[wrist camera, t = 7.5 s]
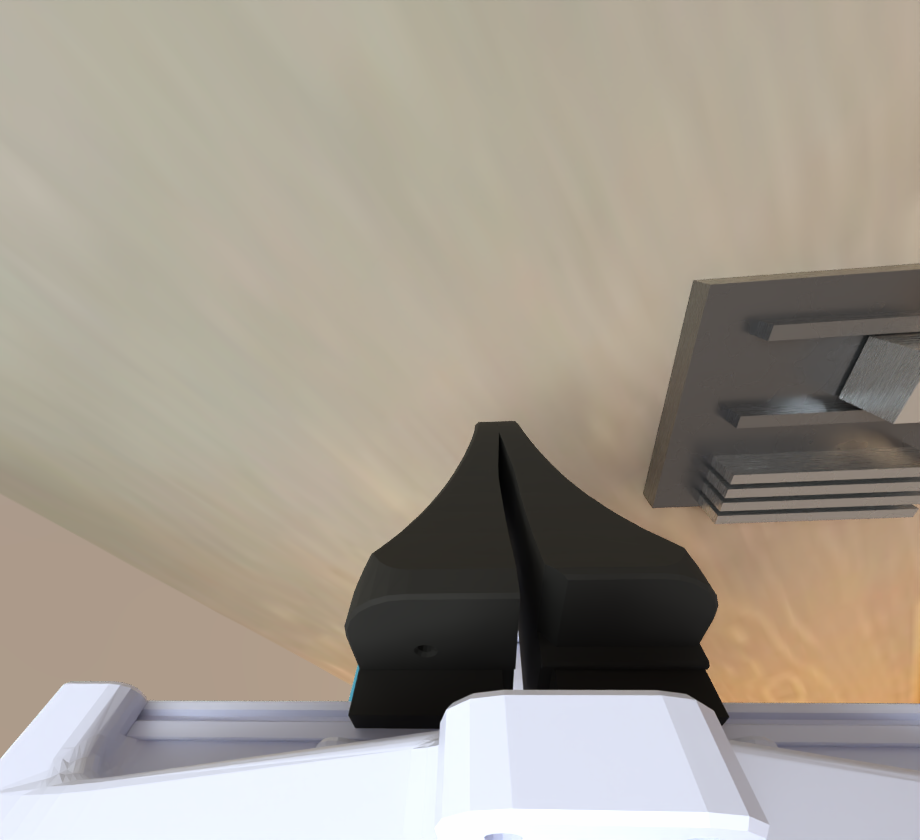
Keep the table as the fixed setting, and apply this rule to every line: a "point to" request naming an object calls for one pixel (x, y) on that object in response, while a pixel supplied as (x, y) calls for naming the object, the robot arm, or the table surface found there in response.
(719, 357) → the base
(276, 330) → the table surface
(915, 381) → the bar
